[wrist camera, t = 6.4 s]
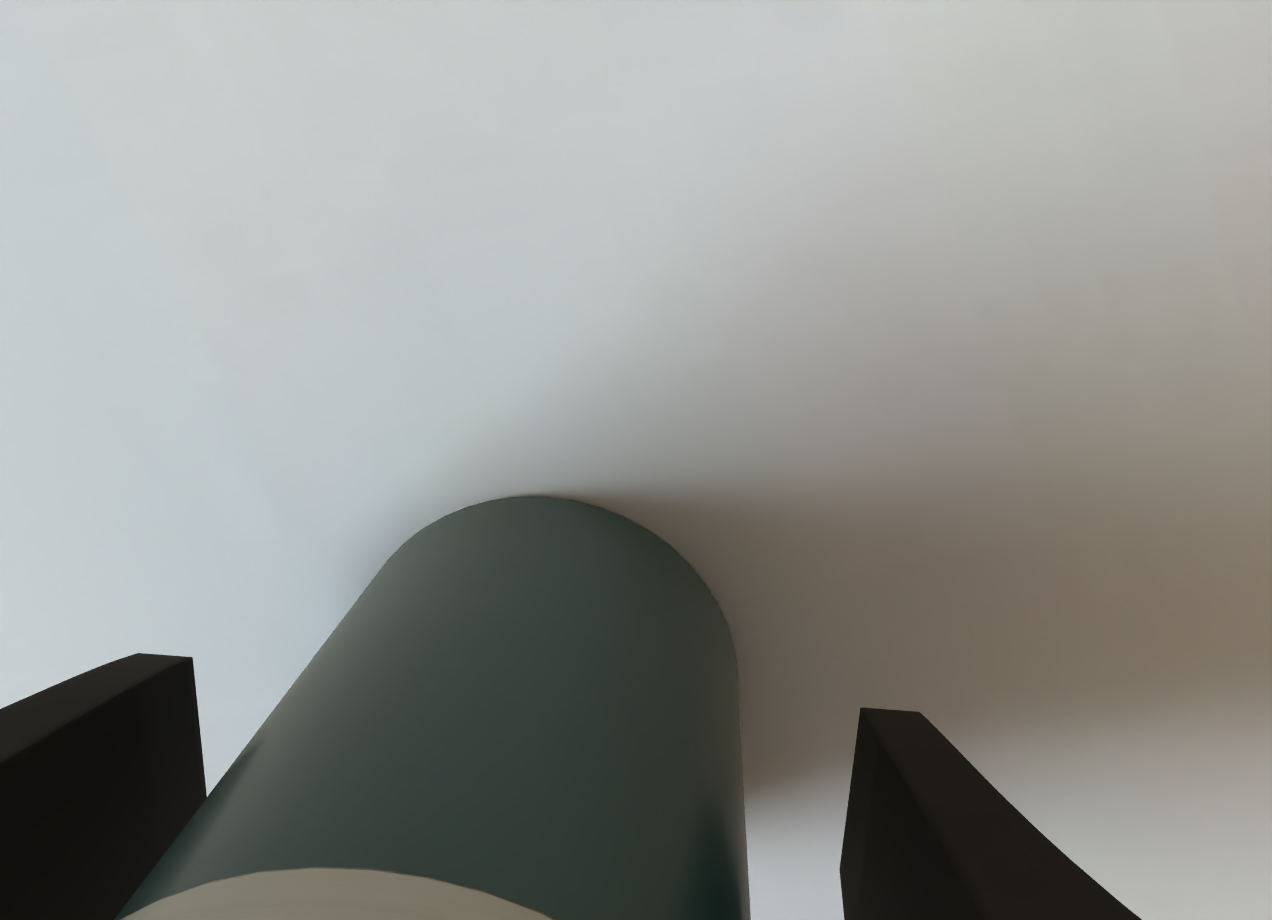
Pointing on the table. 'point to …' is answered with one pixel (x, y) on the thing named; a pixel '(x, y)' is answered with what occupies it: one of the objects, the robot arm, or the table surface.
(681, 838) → the tin can
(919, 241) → the table surface
